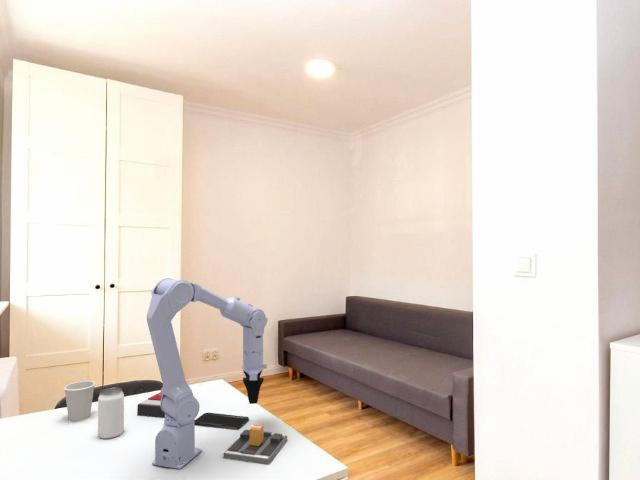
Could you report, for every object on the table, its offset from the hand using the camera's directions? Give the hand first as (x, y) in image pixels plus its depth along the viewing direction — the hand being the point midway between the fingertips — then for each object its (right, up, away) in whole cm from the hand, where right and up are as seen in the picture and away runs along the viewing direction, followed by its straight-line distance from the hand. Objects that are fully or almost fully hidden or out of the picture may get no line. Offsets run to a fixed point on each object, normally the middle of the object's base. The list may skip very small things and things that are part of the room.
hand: (253, 398), depth 117 cm
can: (-39, -9, -2) cm, 41 cm away
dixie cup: (-55, -10, +9) cm, 56 cm away
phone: (-10, -10, +5) cm, 15 cm away
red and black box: (-31, -10, +17) cm, 37 cm away
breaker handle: (+3, -7, -11) cm, 14 cm away
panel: (+3, -9, -11) cm, 15 cm away
